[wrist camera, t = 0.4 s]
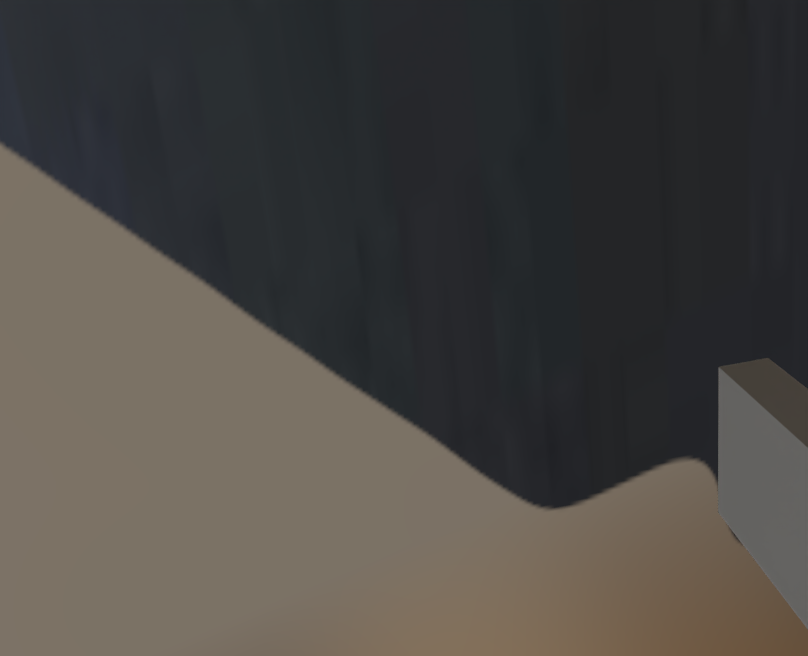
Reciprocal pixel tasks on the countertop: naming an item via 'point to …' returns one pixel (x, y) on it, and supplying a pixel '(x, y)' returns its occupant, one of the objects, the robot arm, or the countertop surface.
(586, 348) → the countertop surface
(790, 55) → the countertop surface
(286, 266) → the countertop surface
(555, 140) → the countertop surface
